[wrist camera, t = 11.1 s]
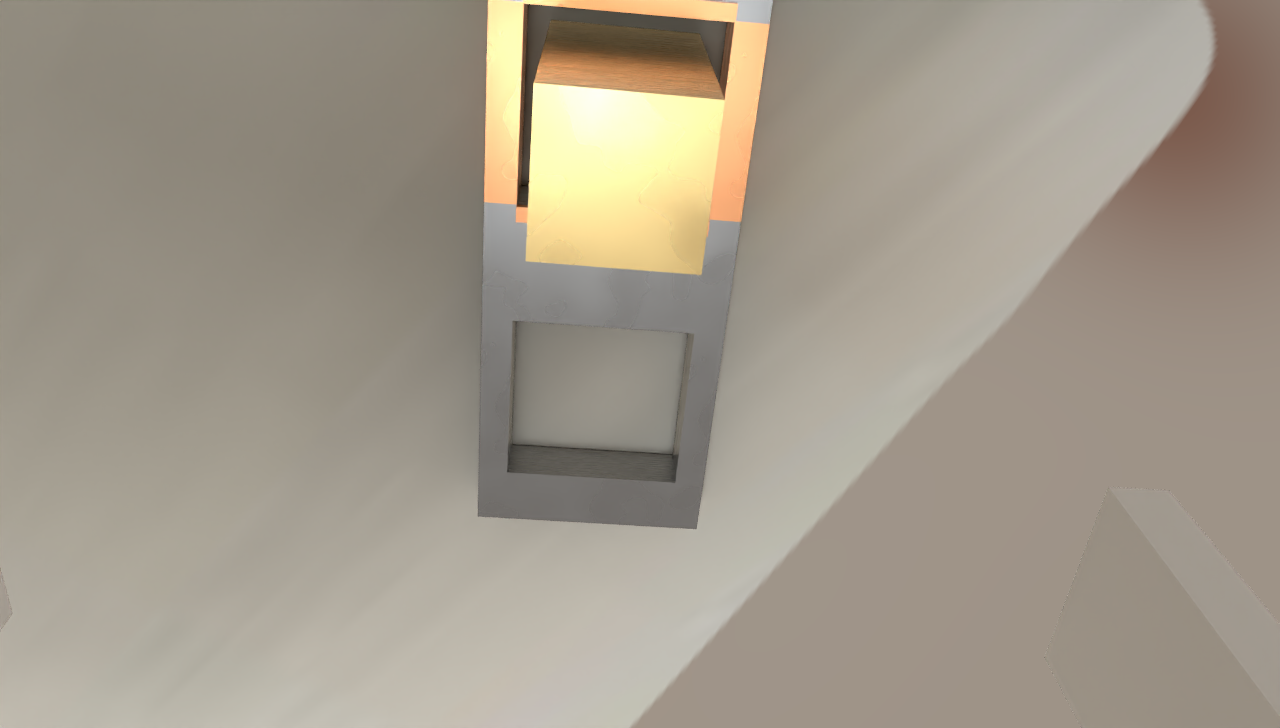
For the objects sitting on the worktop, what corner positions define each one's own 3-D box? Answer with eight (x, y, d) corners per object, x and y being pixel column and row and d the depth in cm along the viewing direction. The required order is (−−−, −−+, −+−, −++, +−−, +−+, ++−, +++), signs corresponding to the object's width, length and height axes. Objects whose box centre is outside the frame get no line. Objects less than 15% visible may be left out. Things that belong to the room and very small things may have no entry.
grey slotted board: (483, 487, 39) (477, 519, 37) (496, -85, 30) (489, -78, 28) (692, 500, 40) (696, 532, 38) (771, -59, 30) (781, -50, 28)
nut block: (543, 164, 33) (525, 261, 26) (550, 19, 31) (533, 83, 24) (682, 176, 34) (701, 275, 26) (699, 33, 31) (724, 100, 24)
